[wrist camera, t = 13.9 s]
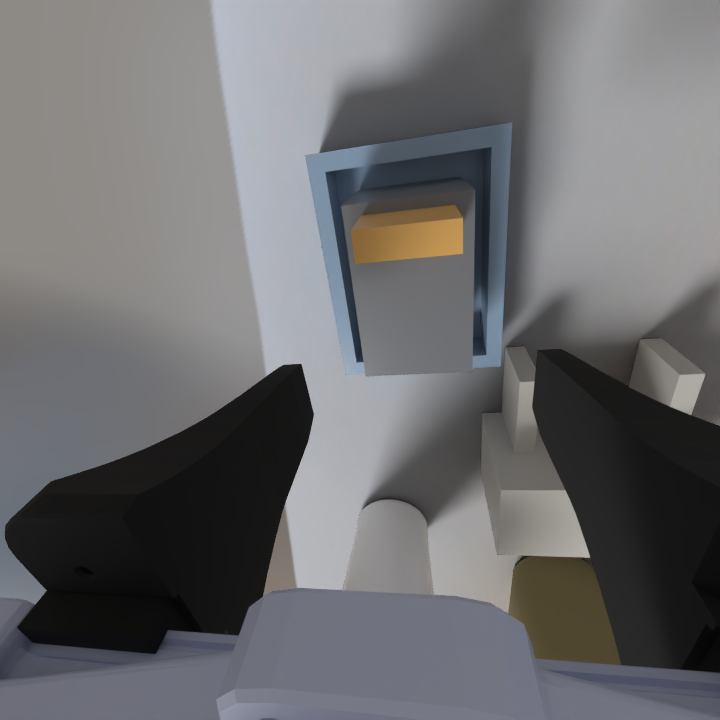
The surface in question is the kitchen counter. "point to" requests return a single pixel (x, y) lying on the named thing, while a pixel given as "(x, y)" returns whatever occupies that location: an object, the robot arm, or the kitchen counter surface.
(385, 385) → the kitchen counter surface
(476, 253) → the tray
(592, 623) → the squeeze bottle
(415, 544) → the drinking glass
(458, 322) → the gray block with tab
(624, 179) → the kitchen counter surface
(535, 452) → the bay
